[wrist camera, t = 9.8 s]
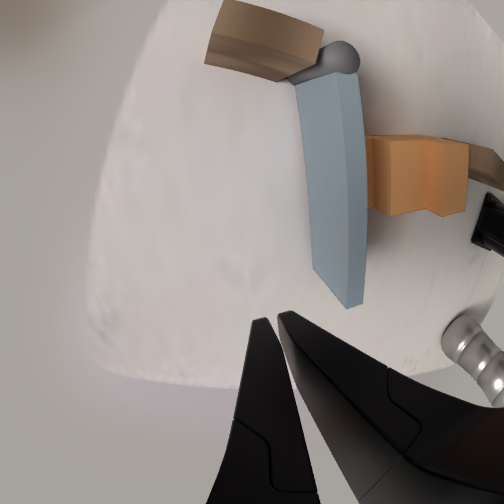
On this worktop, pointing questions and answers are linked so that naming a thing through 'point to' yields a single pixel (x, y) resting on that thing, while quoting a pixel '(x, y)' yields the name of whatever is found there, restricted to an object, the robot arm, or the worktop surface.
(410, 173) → the orange stepped block
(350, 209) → the grey piece
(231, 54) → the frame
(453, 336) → the silver bottle
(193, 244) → the worktop surface
